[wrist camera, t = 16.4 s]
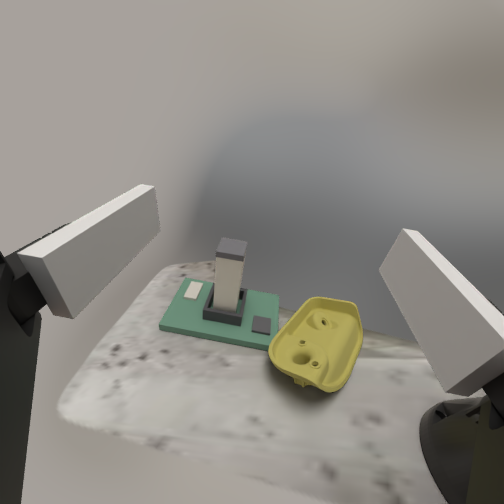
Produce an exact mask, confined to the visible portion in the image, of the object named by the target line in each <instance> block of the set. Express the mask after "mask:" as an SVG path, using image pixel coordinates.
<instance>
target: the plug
mask: <svg viewBox="0 0 504 504" xmlns="http://www.w3.org/2000/svg"><path fill="white" fill-rule="evenodd" d="M246 247H247V241H241V240H235V239H230V238H224V237H222V239H221V241H220V243H219V246H218V248H217V250H216V268H215V285H214V302H213V309H217V310H222V311H227V312H233V313H236V310H237V305H238V300H239V293H240V286H241V279H242V273H243V266H244V259H245V253H246Z"/></svg>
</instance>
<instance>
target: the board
mask: <svg viewBox="0 0 504 504" xmlns="http://www.w3.org/2000/svg"><path fill="white" fill-rule="evenodd" d="M214 285H215V283H211V282H206V281H201V280H195V279H190V278H185V279H184V281H183V283H182V284H181V286H180V288H179V290H178V292H177V293H176V295H175V297H174V299H173V300H172V302H171V304H170V306H169V307H168V309H167V311H166V313H165V314H164V316H163V318H162V320H161V321H160V323H159V329H160V330H163V331H168V332H173V333H179V334H184V335H189V336H194V337H199V338H204V339H209V340H214V341H220V342H225V343H230V344H235V345H240V346H245V347H250V348H256V349H261V350H266V351H268V350H269V345H270V343H271V341H272V340H273V338H274V337H275V336H276V334H277V333H278V312H279V295H275V294H269V293H264V292H259V291H253V290H248V289H243V288H240V293H239V300H238V305H237V310H236V313H233V312H227V311H222V310H217V309H213V302H214Z"/></svg>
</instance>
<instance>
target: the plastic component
mask: <svg viewBox="0 0 504 504" xmlns="http://www.w3.org/2000/svg"><path fill="white" fill-rule="evenodd" d="M322 322H323V323H324V324H325V325H323V324H322ZM362 342H363V330H362V325H361V321H360V316H359V312H358V308H357V306H356V305H355V304H354V303H353V302H349V301H343V300H337V299H330V298H324V297H313V298H310V299H308V300H307V301H306V302H305V303H304V304H303V305H302V306H301V307H300V308H299V309H298V311H297V312H296V313H295V314H294V315H293V316H292V317H291V318H290V320H289V321H288V322H287V323H286V324H285V325H284V326H283V327H282V328H281V330H280V331H279V332H278V333H277V334H276V336H275V337H274V338H273V340H272V341H271V343H270V345H269V350H268V352H269V357H270V359H271V361H272V363H273V364H274V366H275V367H276V368H277V369H279V370H280V371H281V372H283V373H285V374H287V375H289V376H291V377H293V378H294V383H295V384H299V385H302V387H305V386H307V385H310V386H311V385H313V386H315V387H317V388H319V389H321V390H323V391H325V392H335V391H337V390H339V389H340V388H342V387H343V386H344V384H345V383H346V382H347V380H348V378H349V376H350V374H351V372H352V369H353V367H354V364H355V362H356V359H357V356H358V354H359V351H360V349H361V346H362ZM314 365H317V366H314Z"/></svg>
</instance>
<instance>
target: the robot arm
mask: <svg viewBox="0 0 504 504" xmlns="http://www.w3.org/2000/svg"><path fill="white" fill-rule="evenodd" d="M159 232H160V223H159V216H158V208H157V200H156V192H155V187H154V186H149V185H143V184H140V185H138V186H137V187H135V188H133V189H131V190H130V191H128V192H126V193H125V194H122V195H121V196H119V197H117V198H115V199H113V200H112V201H110V202H108V203H106V204H104V205H103V206H101V207H99V208H97V209H96V210H94V211H92V212H90V213H88V214H86V215H85V216H83V217H81V218H79V219H78V220H76V221H74V222H72V223H68V224H65V225H63V226H61V227H59V228H58V229H55V230H54V231H52V233H48V234H46V235H44V236H43V237H42V238H39V239H37V240H35V241H33V242H32V243H30V244H28V245H26V246H24V247H22V248H21V249H19V250H17V251H15V252H13V253H12V254H10V255H8V256H6V257H4V256H3V255H2V253H1V252H0V504H21V497H22V489H23V480H24V471H25V462H26V453H27V444H28V435H29V426H30V417H31V409H32V400H33V391H34V381H35V372H36V364H37V355H38V346H39V338H40V329H41V320H42V318H41V314H40V313H39V310H40V309H41V308H42V307H44V306H45V305H46V304H47V305H48V307H49V309H50V310H51V312H52V313H53V315H55V316H60V317H66V318H70V319H74V318H75V317H76V316H77V315H78V314H79V313H80V312H81V311H82V310H83V309H84V308H85V307H86V306H87V305H88V304H89V303H90V302H91V301H92V300H93V299H94V298H95V297H96V296H97V295H98V294H99V293H100V292H101V291H102V290H103V289H104V288H105V287H106V286H107V285H108V284H109V283H110V282H111V281H112V280H113V279H114V278H115V277H116V276H117V275H118V274H119V273H120V272H121V271H122V269H124V267H126V266H127V265H128V264H129V262H131V261H132V260H133V258H135V257H136V255H137V254H138V253H139V252H140V251H141V250H142V249H143V248H144V247H145V246H146V245H147V244H148V243H149V242H150V241H151V240H152V239H153V238H154V237H155V236H156V235H157V234H158V233H159ZM379 272H380V274H381V275H382V277H383V279H384V281H385V283H386V284H387V286H388V288H389V290H390V292H391V294H392V296H393V297H394V299H395V301H396V303H397V305H398V306H399V308H400V310H401V312H402V314H403V316H404V318H405V319H406V321H407V323H408V325H409V327H410V329H411V330H412V332H413V334H414V336H415V338H416V340H417V342H418V343H419V345H420V347H421V349H422V351H423V353H424V354H425V356H426V358H427V360H428V362H429V364H430V365H431V367H432V369H433V371H434V373H435V375H436V376H437V378H438V380H439V382H440V384H441V386H442V387H443V389H444V391H445V392H446V393H452V394H457V395H462V396H467V397H469V396H470V395H472V394H473V393H475V392H476V391H478V390H480V389H481V388H483V390H484V391H485V393H486V394H487V395H485V396H484V397H478V398H467V399H457V400H447V401H443V402H440V403H438V404H436V405H435V406H433V407H432V408H431V409H429V410H428V411H427V412H426V413H425V414H424V416H423V418H422V420H421V424H420V439H421V445H422V449H423V452H424V456H425V459H426V461H427V464H428V466H429V469H430V471H431V473H432V475H433V477H434V479H435V481H436V483H437V484H438V486H439V488H440V490H441V491H442V493H443V495H444V496H445V498H446V499H447V501H448V502H449V504H504V314H502V312H501V311H500V310H499V309H498V308H497V307H496V306H495V305H494V304H493V303H492V302H491V301H490V300H488V299H487V298H485V297H484V296H483V295H482V294H481V293H480V292H479V291H478V290H477V289H476V288H475V287H474V286H473V285H472V284H471V283H470V282H469V281H468V280H467V279H466V278H464V276H463V275H462V274H461V273H460V272H459V271H458V270H457V269H455V268H454V267H453V265H451V264H450V263H449V262H448V261H447V260H446V259H445V258H444V257H443V256H442V255H441V254H440V253H439V252H438V251H437V250H436V249H435V248H434V247H433V246H432V245H431V244H430V243H429V242H428V241H427V240H426V239H425V238H424V237H423V236H422V235H421V234H420V233H419V232H418V231H413V230H407V229H402V230H401V232H400V234H399V236H398V237H397V239H396V241H395V243H394V244H393V246H392V248H391V249H390V251H389V253H388V255H387V256H386V258H385V260H384V261H383V263H382V265H381V267H380V268H379Z"/></svg>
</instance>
